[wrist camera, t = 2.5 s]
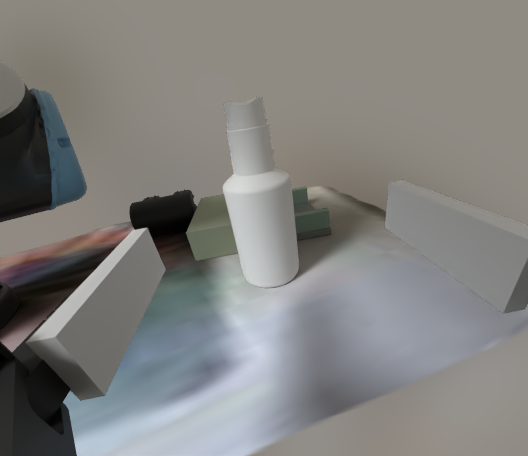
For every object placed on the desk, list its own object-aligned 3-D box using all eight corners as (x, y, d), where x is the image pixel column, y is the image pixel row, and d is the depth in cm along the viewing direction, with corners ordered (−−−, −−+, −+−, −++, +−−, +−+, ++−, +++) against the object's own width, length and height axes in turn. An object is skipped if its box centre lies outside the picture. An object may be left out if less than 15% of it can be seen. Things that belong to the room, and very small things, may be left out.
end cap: (141, 246, 38) (124, 209, 35) (151, 228, 44) (137, 196, 41) (200, 233, 39) (188, 196, 36) (202, 217, 46) (192, 185, 42)
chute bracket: (195, 261, 31) (185, 232, 29) (207, 219, 44) (201, 198, 42) (332, 235, 32) (331, 206, 30) (305, 202, 44) (303, 180, 42)
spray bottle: (292, 249, 30) (276, 96, 22) (306, 283, 24) (290, 89, 16) (243, 258, 30) (208, 108, 22) (243, 294, 24) (196, 105, 16)
